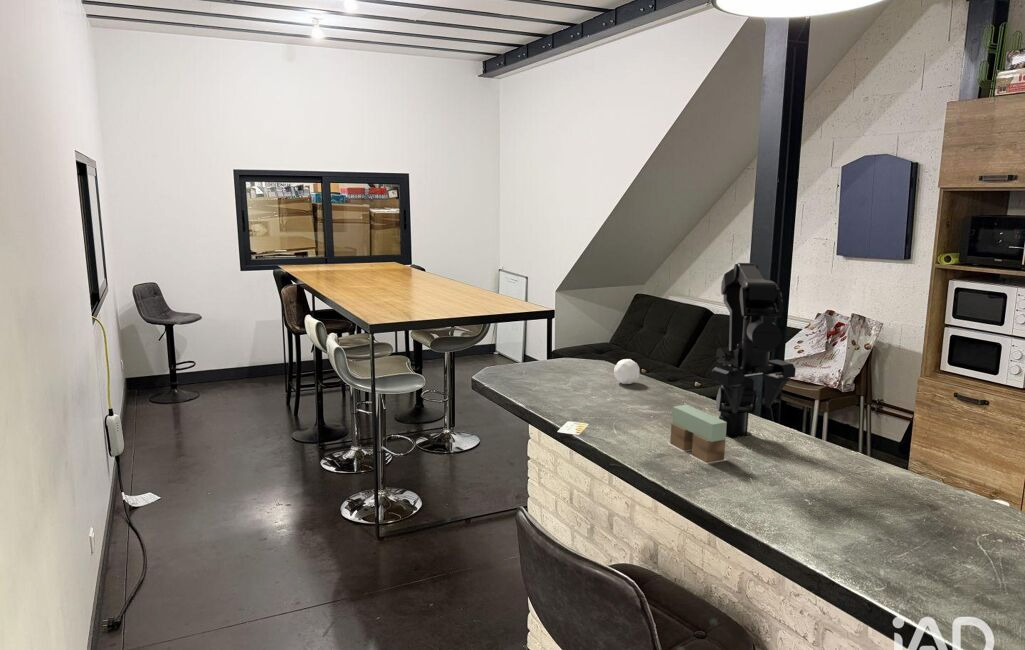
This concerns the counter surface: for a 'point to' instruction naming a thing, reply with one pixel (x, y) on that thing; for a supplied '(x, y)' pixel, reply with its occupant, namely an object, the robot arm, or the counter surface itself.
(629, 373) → the white faceted ovoid
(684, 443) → the brown wooden cube
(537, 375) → the counter surface
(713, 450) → the tan wood block
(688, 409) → the plank
